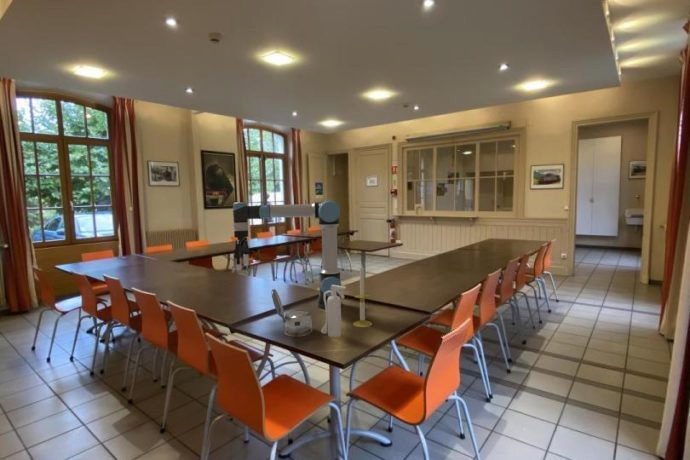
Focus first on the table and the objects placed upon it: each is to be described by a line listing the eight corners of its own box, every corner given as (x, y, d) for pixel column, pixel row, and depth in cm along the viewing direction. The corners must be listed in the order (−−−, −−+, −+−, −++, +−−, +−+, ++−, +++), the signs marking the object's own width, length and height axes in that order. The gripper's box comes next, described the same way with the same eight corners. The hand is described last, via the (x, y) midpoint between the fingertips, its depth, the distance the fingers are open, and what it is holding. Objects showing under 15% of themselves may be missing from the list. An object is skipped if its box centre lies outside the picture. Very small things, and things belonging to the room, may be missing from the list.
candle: (349, 323, 190) (348, 262, 187) (363, 319, 196) (363, 260, 193) (361, 329, 182) (360, 265, 179) (376, 324, 187) (375, 263, 185)
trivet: (312, 326, 186) (312, 325, 186) (312, 336, 173) (312, 335, 173) (285, 327, 185) (285, 326, 185) (283, 338, 171) (283, 337, 171)
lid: (275, 286, 183) (271, 287, 183) (272, 293, 169) (267, 294, 169) (285, 312, 185) (281, 314, 185) (282, 321, 171) (278, 323, 171)
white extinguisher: (323, 331, 179) (323, 282, 176) (346, 334, 175) (347, 284, 172) (318, 336, 172) (318, 286, 169) (342, 340, 169) (342, 288, 166)
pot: (311, 323, 189) (311, 309, 188) (311, 337, 170) (311, 320, 170) (285, 325, 187) (284, 310, 187) (281, 338, 169) (281, 322, 169)
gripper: (241, 228, 213) (242, 263, 214) (226, 232, 188) (228, 272, 190) (253, 228, 212) (255, 263, 214) (241, 232, 188) (242, 272, 190)
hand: (242, 267), depth 202 cm, fingers open, 13 cm apart
